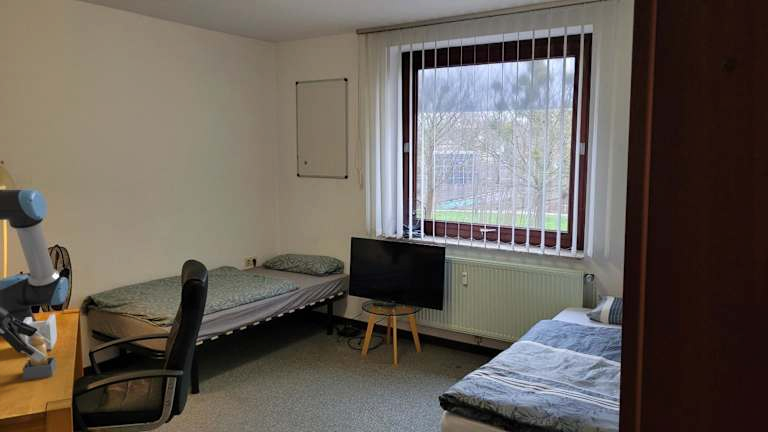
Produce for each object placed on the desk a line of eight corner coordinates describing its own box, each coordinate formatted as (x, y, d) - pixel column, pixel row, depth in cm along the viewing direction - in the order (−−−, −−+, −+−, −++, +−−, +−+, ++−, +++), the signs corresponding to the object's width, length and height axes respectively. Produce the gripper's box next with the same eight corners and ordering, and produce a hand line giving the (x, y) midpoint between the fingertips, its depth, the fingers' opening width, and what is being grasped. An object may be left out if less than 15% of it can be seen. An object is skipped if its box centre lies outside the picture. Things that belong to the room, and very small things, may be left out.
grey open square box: (28, 371, 200) (27, 360, 200) (56, 367, 203) (55, 356, 203) (23, 380, 192) (22, 368, 192) (52, 376, 195) (51, 365, 195)
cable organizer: (52, 352, 218) (50, 323, 217) (19, 356, 215) (17, 326, 213) (57, 340, 232) (55, 312, 231) (27, 343, 228) (25, 315, 227)
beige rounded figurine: (32, 368, 199) (30, 335, 198) (49, 365, 201) (46, 334, 199) (29, 373, 194) (27, 340, 193) (46, 371, 196) (44, 338, 195)
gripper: (-9, 313, 201) (43, 349, 208) (-30, 334, 178) (30, 373, 185) (8, 296, 203) (59, 333, 210) (-11, 315, 180) (47, 355, 187)
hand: (45, 352), depth 198 cm, fingers open, 13 cm apart
